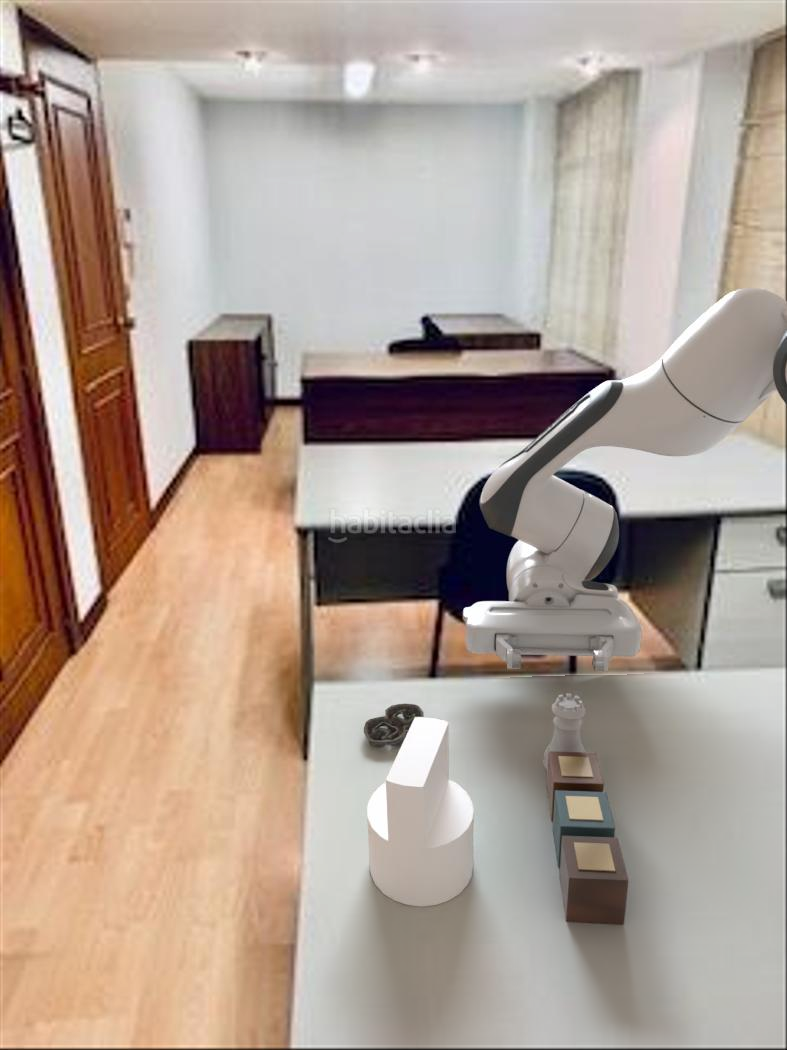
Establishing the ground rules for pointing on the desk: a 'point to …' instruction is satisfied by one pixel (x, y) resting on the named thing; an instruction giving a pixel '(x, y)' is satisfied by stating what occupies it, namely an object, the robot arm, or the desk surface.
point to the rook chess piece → (566, 726)
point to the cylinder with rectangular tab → (421, 822)
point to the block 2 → (593, 880)
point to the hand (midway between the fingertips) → (557, 664)
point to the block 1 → (572, 774)
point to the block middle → (581, 816)
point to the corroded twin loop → (392, 724)
